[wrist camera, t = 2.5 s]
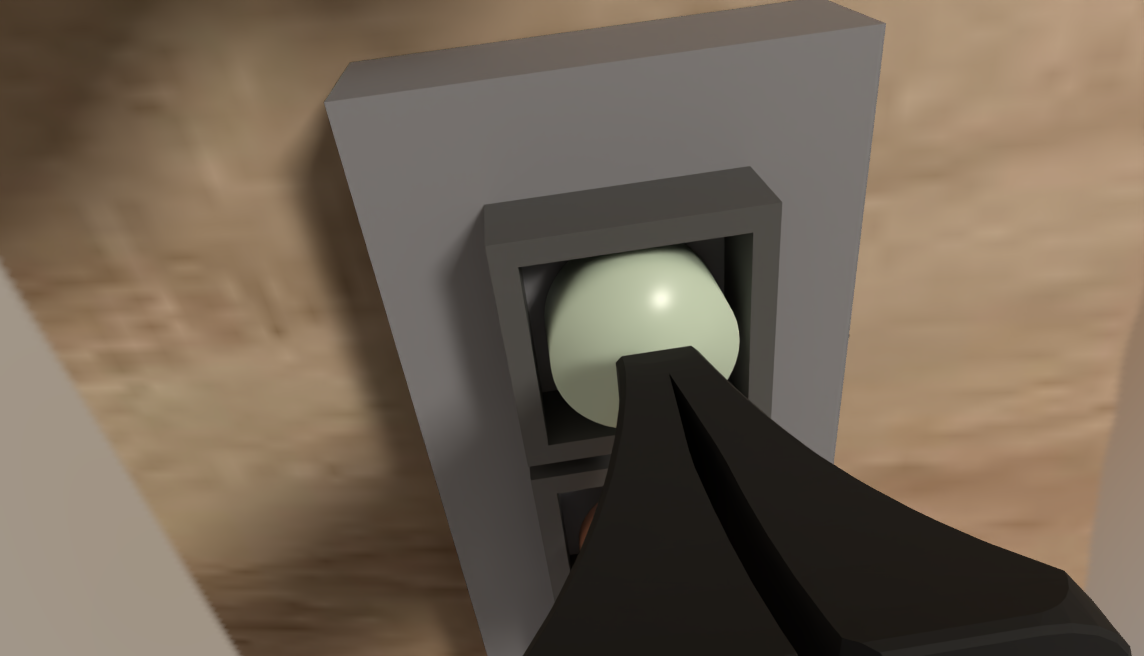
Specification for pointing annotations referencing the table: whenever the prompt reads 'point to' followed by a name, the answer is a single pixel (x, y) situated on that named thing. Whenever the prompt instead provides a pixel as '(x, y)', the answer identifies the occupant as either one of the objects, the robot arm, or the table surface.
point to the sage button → (631, 320)
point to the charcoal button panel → (603, 242)
